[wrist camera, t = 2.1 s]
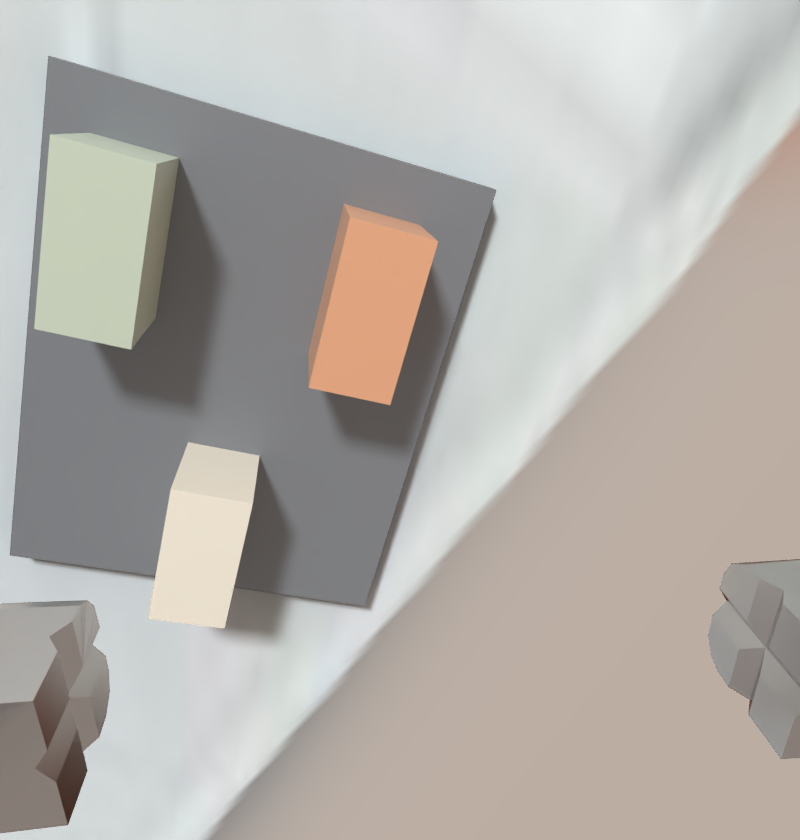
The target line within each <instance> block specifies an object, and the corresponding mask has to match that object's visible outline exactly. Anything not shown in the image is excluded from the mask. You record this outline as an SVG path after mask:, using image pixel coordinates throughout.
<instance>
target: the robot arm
mask: <svg viewBox="0 0 800 840" xmlns="http://www.w3.org/2000/svg"><path fill="white" fill-rule="evenodd" d="M720 590H721V592H722V594H723V595H724V597H725V599H726V600H727V601H726V602H725V603H724V604H723V605H722V606H721V607H720V608H719V609H718V610H717V611H716V612H715V613H714V614H713V615H712V620H711V625H710V630H709V634H708V637H709V644H710V650H711V656H712V659H713V661H714V664H715V666H716V668H717V671H718V672H719V674H720V675H721V677H722V678H723V680H724V681H725V682H726V684H727V686H728V687H730V688H731V689H733V690H734V691H736V692H738V693H739V694H741V695H743V696H744V697H746V698H748V699H749V700H750V702H749V716H750V717H751V719H752V720H753V722H754V723H755V724H756V726H757V727H758V728H759V730H760V731H761V733H762V734H763V735H764V737H765V738H766V739H767V741H768V742H769V743H770V745H771V746H772V747H773V749H774V750H775V752H776V753H777V754H778V756H779V757H780V759H788V758H800V559H793V560H778V561H762V562H745V563H731V565H730V566H729V567H728V568H727V570H726V571H725V572H724V575H723V578H722V582H721V585H720ZM98 630H99V623H98V619H97V615H96V611H95V607H94V605H93V604H91V603H90V602H89V601H87V600H83V601H55V602H28V603H2V604H0V833H6V832H14V831H23V830H31V829H39V828H48V827H56V826H64V825H68V823H69V821H70V818H71V815H72V812H73V809H74V807H75V804H76V801H77V798H78V795H79V793H80V790H81V787H82V784H83V781H84V779H85V776H86V773H87V767H86V763H85V758H84V754H83V751H84V750H85V749H86V748H87V747H88V746H90V745H91V744H92V743H93V742H94V741H95V740H96V739H97V738H99V736H100V733H101V730H102V727H103V724H104V721H105V718H106V713H107V706H108V699H109V692H110V687H109V670H108V665H107V660H106V656H105V655H104V654H103V653H102V652H101V651H99V650H98V649H97V648H96V647H95V646H93V645H92V644H93V642H94V640H95V637H96V635H97V632H98Z"/></svg>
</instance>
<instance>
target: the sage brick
mask: <svg viewBox="0 0 800 840" xmlns="http://www.w3.org/2000/svg"><path fill="white" fill-rule="evenodd" d="M178 164H179V158H178V157H175V156H171V155H168V154H164V153H161V152H157V151H153V150H150V149H146V148H143V147H139V146H136V145H132V144H128V143H125V142H121V141H118V140H114V139H110V138H107V137H103V136H100V135H96V134H93V133H74V134H50V140H49V152H48V164H47V177H46V189H45V201H44V214H43V226H42V238H41V251H40V263H39V275H38V288H37V300H36V312H35V325H34V329H37V330H42V331H46V332H51V333H56V334H60V335H65V336H70V337H74V338H79V339H84V340H88V341H93V342H98V343H102V344H107V345H112V346H116V347H121V348H126V349H130V350H131V349H132V348H133V347H134V345H135V344H136V343H137V341H138V340H139V339H140V338H141V336H142V335H143V334H144V332H145V331H146V330H147V329H148V327H149V326H150V325H151V323H152V322H153V321H154V319H155V318H156V312H157V305H158V298H159V292H160V285H161V278H162V271H163V265H164V258H165V251H166V244H167V238H168V231H169V224H170V218H171V211H172V204H173V197H174V191H175V184H176V177H177V170H178Z"/></svg>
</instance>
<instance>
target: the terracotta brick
mask: <svg viewBox="0 0 800 840" xmlns="http://www.w3.org/2000/svg"><path fill="white" fill-rule="evenodd" d="M437 244H438V241H437V240H436V239H435V238H434V237H433V236H432V235H431V234H429V233H428V232H427V231H426V230H425V229H424V228H423V227H422V226H420V225H418V224H415V223H411V222H408V221H404V220H400V219H397V218H393V217H390V216H386V215H383V214H379V213H375V212H372V211H368V210H365V209H361V208H357V207H354V206H350V205H347V204H344V205H343V210H342V214H341V218H340V222H339V226H338V230H337V235H336V239H335V243H334V247H333V251H332V256H331V260H330V264H329V268H328V272H327V277H326V281H325V285H324V289H323V293H322V298H321V302H320V306H319V310H318V314H317V318H316V323H315V327H314V331H313V335H312V339H311V344H310V348H309V352H308V370H309V388H312V389H317V390H321V391H326V392H331V393H335V394H340V395H345V396H349V397H354V398H359V399H363V400H368V401H373V402H377V403H382V404H387V405H390V404H391V401H392V397H393V394H394V391H395V387H396V384H397V380H398V377H399V374H400V370H401V367H402V363H403V360H404V357H405V353H406V350H407V346H408V343H409V340H410V336H411V333H412V329H413V326H414V323H415V319H416V316H417V312H418V309H419V306H420V302H421V299H422V295H423V292H424V289H425V285H426V282H427V278H428V275H429V272H430V268H431V265H432V261H433V258H434V255H435V251H436V248H437Z"/></svg>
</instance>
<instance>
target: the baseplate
mask: <svg viewBox="0 0 800 840" xmlns="http://www.w3.org/2000/svg"><path fill="white" fill-rule="evenodd" d="M74 133H93V134H96V135H100V136H103V137H107V138H110V139H114V140H118V141H121V142H125V143H128V144H132V145H136V146H139V147H143V148H146V149H150V150H153V151H157V152H161V153H164V154H168V155H171V156H175V157H178V158H179V164H178V170H177V177H176V184H175V191H174V197H173V204H172V211H171V218H170V224H169V231H168V238H167V244H166V251H165V258H164V265H163V271H162V278H161V285H160V292H159V298H158V305H157V312H156V318H155V319H154V321H153V322H152V323H151V325H150V326H149V327H148V329H147V330H146V331H145V332H144V334H143V335H142V336H141V338H140V339H139V340H138V341H137V343H136V344H135V345H134V347H133V348H132V349H131V350H130V349H126V348H121V347H116V346H112V345H107V344H102V343H98V342H93V341H88V340H84V339H79V338H74V337H70V336H65V335H60V334H56V333H51V332H46V331H42V330H37V329H34V325H35V312H36V300H37V288H38V275H39V263H40V251H41V238H42V226H43V214H44V201H45V189H46V177H47V164H48V152H49V140H50V134H74ZM495 193H496V190H495V189H492V188H489V187H486V186H483V185H479V184H476V183H473V182H469V181H466V180H463V179H459V178H456V177H453V176H449V175H446V174H443V173H439V172H436V171H433V170H429V169H426V168H423V167H419V166H416V165H413V164H409V163H406V162H403V161H399V160H396V159H393V158H389V157H386V156H383V155H379V154H376V153H373V152H369V151H366V150H363V149H359V148H356V147H353V146H349V145H346V144H343V143H339V142H336V141H333V140H329V139H326V138H323V137H319V136H316V135H313V134H309V133H306V132H303V131H299V130H296V129H292V128H289V127H286V126H282V125H279V124H276V123H272V122H269V121H266V120H262V119H259V118H256V117H252V116H249V115H246V114H242V113H239V112H236V111H232V110H229V109H226V108H222V107H219V106H216V105H212V104H209V103H206V102H202V101H199V100H196V99H192V98H189V97H186V96H182V95H179V94H176V93H172V92H169V91H166V90H162V89H159V88H156V87H152V86H149V85H146V84H142V83H139V82H136V81H132V80H129V79H126V78H122V77H119V76H116V75H112V74H109V73H106V72H102V71H99V70H96V69H92V68H89V67H86V66H82V65H79V64H76V63H72V62H69V61H66V60H62V59H59V58H55V57H51V56H48V67H47V80H46V93H45V106H44V119H43V132H42V145H41V158H40V171H39V184H38V197H37V210H36V223H35V236H34V249H33V262H32V274H31V287H30V300H29V313H28V326H27V339H26V352H25V365H24V378H23V391H22V404H21V417H20V430H19V443H18V456H17V469H16V482H15V495H14V508H13V521H12V533H11V546H10V555H12V556H19V557H26V558H33V559H40V560H47V561H54V562H61V563H68V564H74V565H81V566H88V567H95V568H102V569H109V570H116V571H123V572H130V573H137V574H144V575H151V576H156V571H157V565H158V559H159V553H160V548H161V542H162V536H163V530H164V525H165V519H166V513H167V507H168V502H169V496H170V490H171V487H172V484H173V482H174V479H175V476H176V473H177V471H178V468H179V465H180V463H181V460H182V457H183V455H184V452H185V449H186V446H187V444H188V442H190V443H195V444H200V445H206V446H211V447H216V448H222V449H227V450H232V451H237V452H243V453H248V454H253V455H259V464H258V471H257V478H256V485H255V492H254V499H253V505H252V510H251V514H250V518H249V523H248V527H247V532H246V536H245V540H244V545H243V549H242V554H241V558H240V563H239V567H238V571H237V576H236V580H235V585H234V588H241V589H248V590H255V591H262V592H269V593H276V594H283V595H290V596H297V597H304V598H311V599H318V600H325V601H332V602H339V603H345V604H352V605H359V606H365V604H366V601H367V597H368V594H369V591H370V588H371V585H372V582H373V578H374V575H375V572H376V569H377V566H378V563H379V559H380V556H381V553H382V550H383V547H384V544H385V541H386V537H387V534H388V531H389V528H390V525H391V522H392V518H393V515H394V512H395V509H396V506H397V503H398V500H399V496H400V493H401V490H402V487H403V484H404V481H405V477H406V474H407V471H408V468H409V465H410V462H411V458H412V455H413V452H414V449H415V446H416V443H417V440H418V436H419V433H420V430H421V427H422V424H423V421H424V417H425V414H426V411H427V408H428V405H429V402H430V398H431V395H432V392H433V389H434V386H435V383H436V380H437V376H438V373H439V370H440V367H441V364H442V361H443V357H444V354H445V351H446V348H447V345H448V342H449V338H450V335H451V332H452V329H453V326H454V323H455V320H456V316H457V313H458V310H459V307H460V304H461V301H462V297H463V294H464V291H465V288H466V285H467V282H468V278H469V275H470V272H471V269H472V266H473V263H474V260H475V256H476V253H477V250H478V247H479V244H480V241H481V237H482V234H483V231H484V228H485V225H486V222H487V218H488V215H489V212H490V209H491V206H492V203H493V200H494V196H495ZM344 204H347V205H350V206H354V207H357V208H361V209H365V210H368V211H372V212H375V213H379V214H383V215H386V216H390V217H393V218H397V219H400V220H404V221H408V222H411V223H415V224H418V225H420V226H422V227H423V228H424V229H425V230H426V231H427V232H428V233H429V234H431V235H432V236H433V237H434V238H435V239H436V240H437V241H438V244H437V248H436V251H435V255H434V258H433V261H432V265H431V268H430V272H429V275H428V278H427V282H426V285H425V289H424V292H423V295H422V299H421V302H420V306H419V309H418V312H417V316H416V319H415V323H414V326H413V329H412V333H411V336H410V340H409V343H408V346H407V350H406V353H405V357H404V360H403V363H402V367H401V370H400V374H399V377H398V380H397V384H396V387H395V391H394V394H393V397H392V401H391V404H390V405H387V404H382V403H377V402H373V401H368V400H363V399H359V398H354V397H349V396H345V395H340V394H335V393H331V392H326V391H321V390H317V389H312V388H309V370H308V352H309V348H310V344H311V339H312V335H313V331H314V327H315V323H316V318H317V314H318V310H319V306H320V302H321V298H322V293H323V289H324V285H325V281H326V277H327V272H328V268H329V264H330V260H331V256H332V251H333V247H334V243H335V239H336V235H337V230H338V226H339V222H340V218H341V214H342V210H343V205H344Z"/></svg>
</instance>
